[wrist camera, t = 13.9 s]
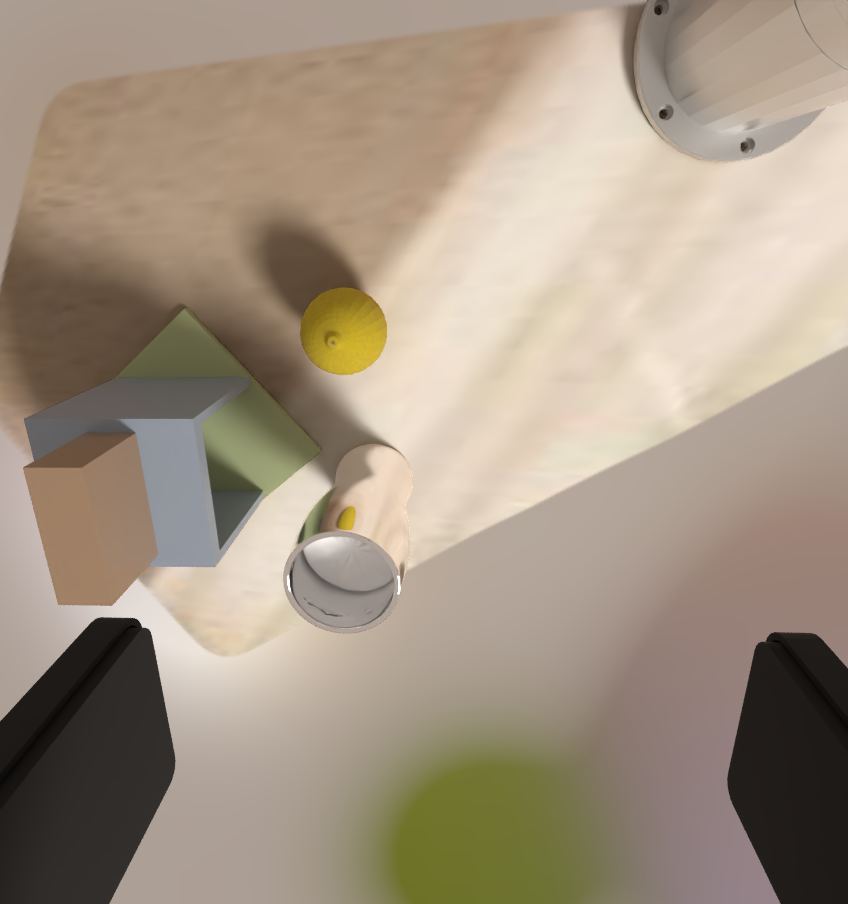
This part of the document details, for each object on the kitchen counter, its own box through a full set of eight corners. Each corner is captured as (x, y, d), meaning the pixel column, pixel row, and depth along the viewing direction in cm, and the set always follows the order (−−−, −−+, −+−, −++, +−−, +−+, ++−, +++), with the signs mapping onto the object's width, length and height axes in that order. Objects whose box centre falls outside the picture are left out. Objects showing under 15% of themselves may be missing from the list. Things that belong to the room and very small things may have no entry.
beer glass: (372, 419, 46) (336, 503, 32) (437, 480, 48) (430, 586, 34) (312, 478, 48) (253, 582, 34) (376, 535, 50) (345, 657, 35)
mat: (187, 307, 44) (184, 308, 43) (321, 449, 47) (319, 452, 47) (68, 426, 47) (63, 428, 47) (200, 550, 51) (197, 553, 50)
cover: (250, 376, 45) (147, 452, 30) (264, 497, 48) (178, 620, 33) (117, 377, 45) (-50, 451, 30) (140, 496, 49) (0, 617, 34)
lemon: (300, 330, 44) (269, 352, 37) (343, 266, 42) (319, 274, 35) (364, 375, 45) (346, 405, 38) (407, 314, 43) (398, 332, 36)
